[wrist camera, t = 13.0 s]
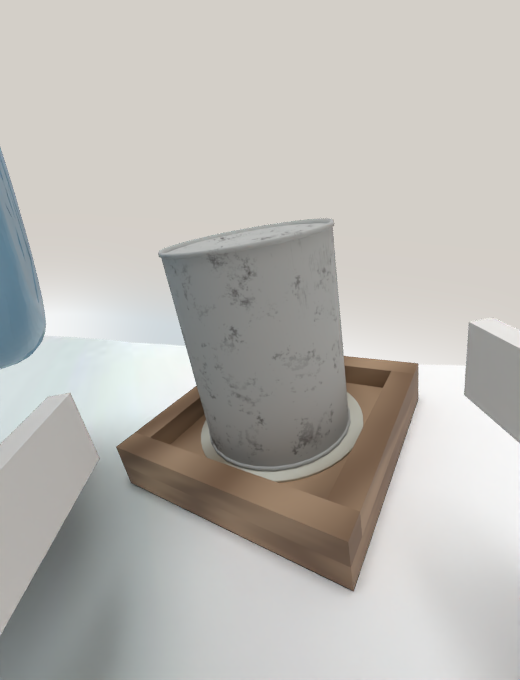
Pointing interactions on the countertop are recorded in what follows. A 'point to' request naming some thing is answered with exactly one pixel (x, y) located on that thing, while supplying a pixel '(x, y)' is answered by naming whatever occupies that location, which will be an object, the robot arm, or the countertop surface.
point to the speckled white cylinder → (264, 340)
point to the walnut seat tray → (288, 474)
